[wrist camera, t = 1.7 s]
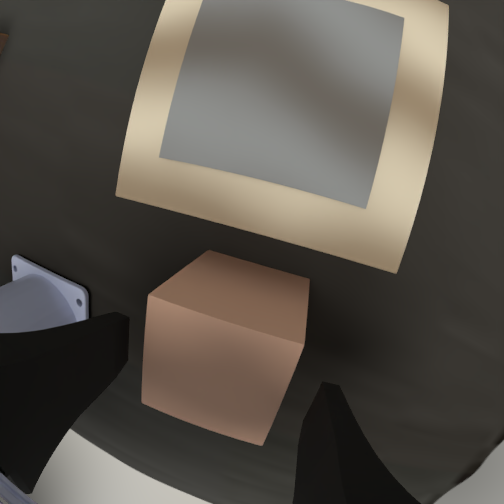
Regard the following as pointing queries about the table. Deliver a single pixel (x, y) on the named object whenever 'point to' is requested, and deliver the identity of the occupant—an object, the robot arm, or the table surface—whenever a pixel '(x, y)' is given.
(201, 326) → the terracotta block
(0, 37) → the tissue box cover
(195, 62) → the birch base
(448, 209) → the table surface
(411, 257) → the table surface
